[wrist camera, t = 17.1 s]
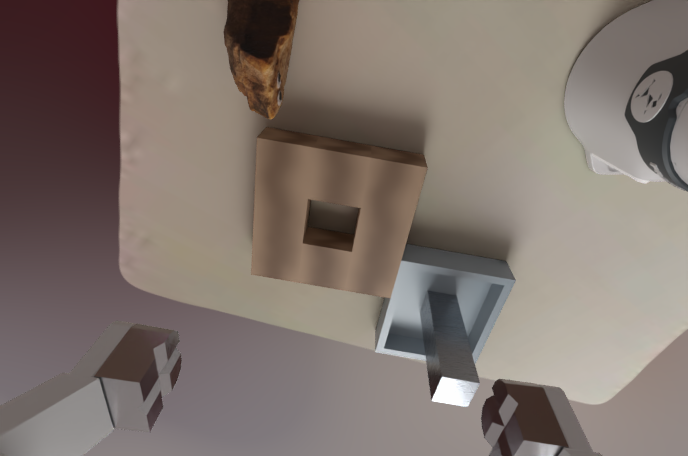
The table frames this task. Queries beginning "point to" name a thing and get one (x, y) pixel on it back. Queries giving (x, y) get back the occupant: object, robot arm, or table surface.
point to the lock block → (339, 188)
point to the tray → (445, 277)
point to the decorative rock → (260, 49)
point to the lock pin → (447, 350)
